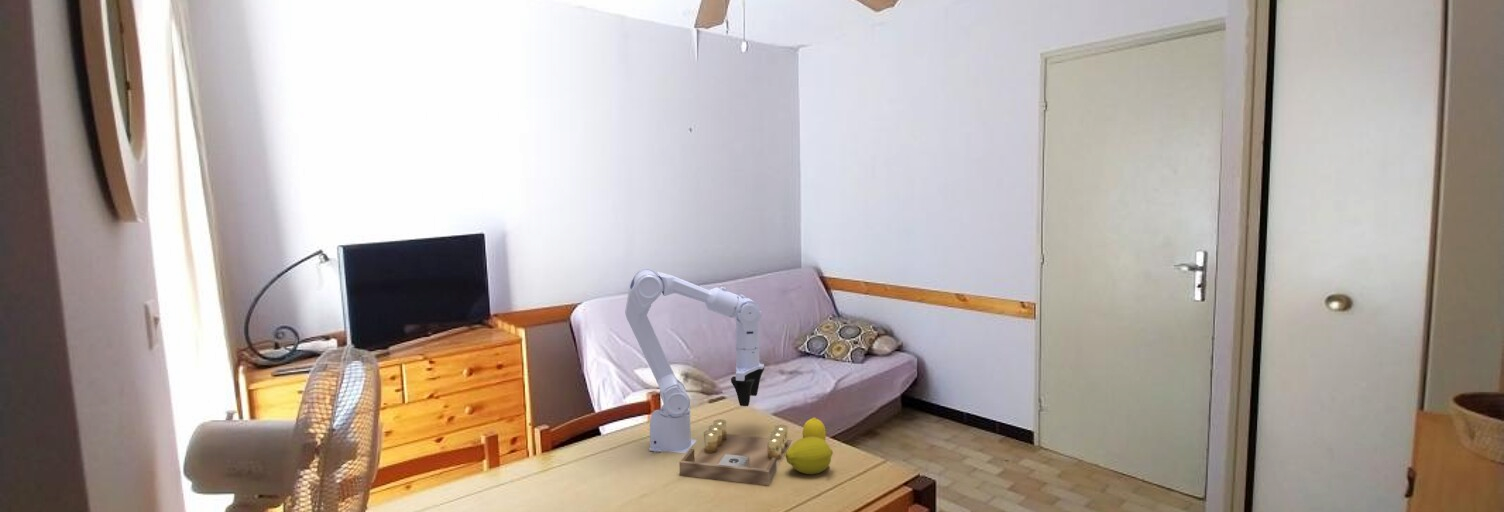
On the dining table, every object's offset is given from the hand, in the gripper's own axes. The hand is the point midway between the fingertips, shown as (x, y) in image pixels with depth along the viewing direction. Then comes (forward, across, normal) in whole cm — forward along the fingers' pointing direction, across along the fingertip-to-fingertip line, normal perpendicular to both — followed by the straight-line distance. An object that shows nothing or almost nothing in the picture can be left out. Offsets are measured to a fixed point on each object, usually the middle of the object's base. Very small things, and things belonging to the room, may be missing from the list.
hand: (748, 400), depth 156 cm
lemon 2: (+10, -15, -18) cm, 26 cm away
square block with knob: (+9, -19, -2) cm, 22 cm away
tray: (+10, -12, -1) cm, 16 cm away
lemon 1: (+10, -3, -17) cm, 20 cm away
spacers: (+9, -7, -1) cm, 12 cm away
